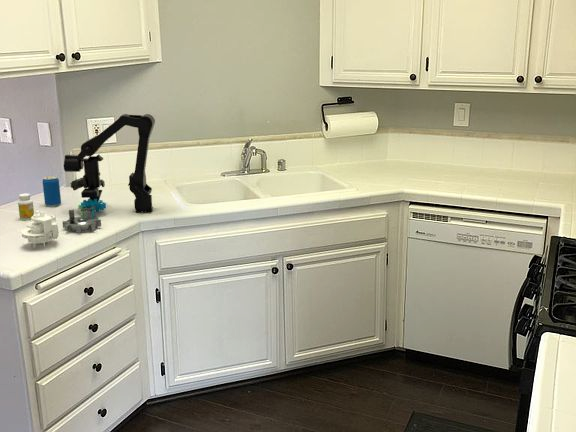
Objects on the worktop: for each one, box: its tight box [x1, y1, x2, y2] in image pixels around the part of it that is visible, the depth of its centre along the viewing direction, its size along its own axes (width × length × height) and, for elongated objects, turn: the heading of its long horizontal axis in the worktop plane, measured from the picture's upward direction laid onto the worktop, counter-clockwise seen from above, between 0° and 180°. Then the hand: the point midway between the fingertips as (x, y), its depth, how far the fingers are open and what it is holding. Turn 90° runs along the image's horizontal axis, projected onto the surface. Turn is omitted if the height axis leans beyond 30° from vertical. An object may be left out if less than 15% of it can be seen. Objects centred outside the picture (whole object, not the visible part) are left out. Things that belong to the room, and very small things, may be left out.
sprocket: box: [62, 209, 102, 233], centre depth 242 cm, size 14×14×8 cm
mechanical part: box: [20, 209, 60, 248], centre depth 225 cm, size 11×12×12 cm
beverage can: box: [42, 175, 62, 208], centre depth 272 cm, size 6×6×12 cm
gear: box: [77, 198, 107, 217], centre depth 259 cm, size 11×6×10 cm
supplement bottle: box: [17, 193, 35, 221], centre depth 254 cm, size 5×5×10 cm
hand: (95, 208), depth 265 cm, fingers closed
